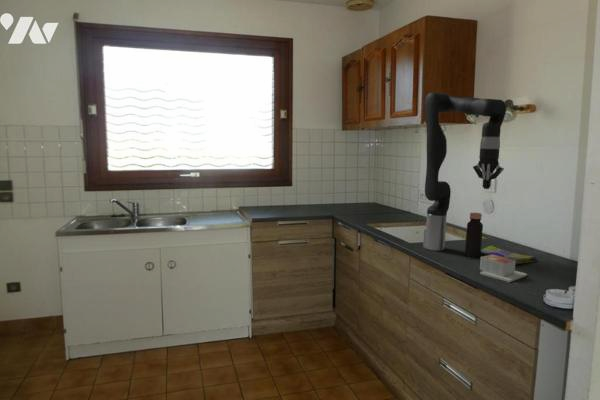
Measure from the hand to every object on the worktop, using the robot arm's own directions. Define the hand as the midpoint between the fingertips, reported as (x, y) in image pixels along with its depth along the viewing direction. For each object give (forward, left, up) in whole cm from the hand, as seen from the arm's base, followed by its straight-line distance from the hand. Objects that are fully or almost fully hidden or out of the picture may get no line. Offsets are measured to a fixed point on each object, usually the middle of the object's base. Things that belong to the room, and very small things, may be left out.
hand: (486, 188), depth 183 cm
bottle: (-9, +9, -33) cm, 36 cm away
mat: (+14, -7, -33) cm, 37 cm away
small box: (+6, -7, -30) cm, 31 cm away
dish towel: (0, +20, -34) cm, 39 cm away
